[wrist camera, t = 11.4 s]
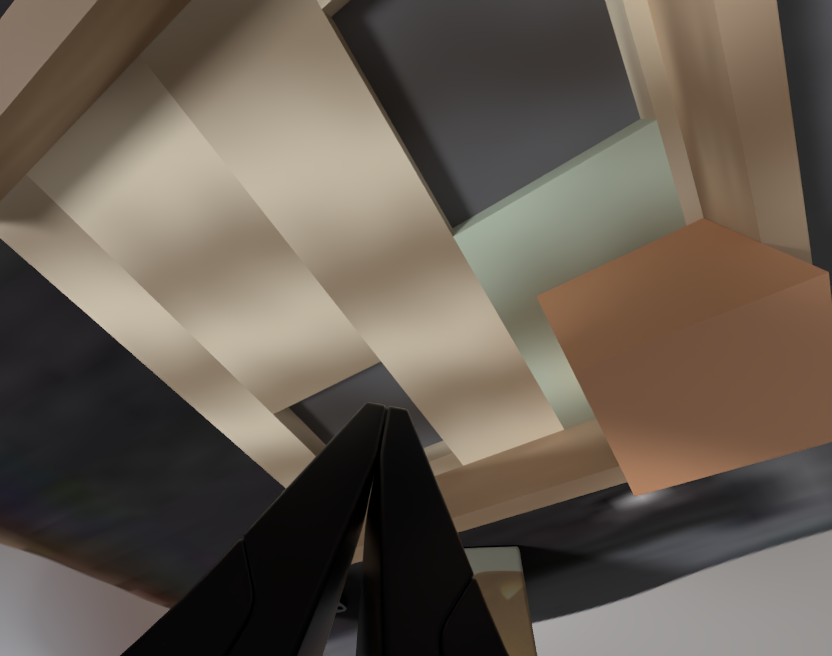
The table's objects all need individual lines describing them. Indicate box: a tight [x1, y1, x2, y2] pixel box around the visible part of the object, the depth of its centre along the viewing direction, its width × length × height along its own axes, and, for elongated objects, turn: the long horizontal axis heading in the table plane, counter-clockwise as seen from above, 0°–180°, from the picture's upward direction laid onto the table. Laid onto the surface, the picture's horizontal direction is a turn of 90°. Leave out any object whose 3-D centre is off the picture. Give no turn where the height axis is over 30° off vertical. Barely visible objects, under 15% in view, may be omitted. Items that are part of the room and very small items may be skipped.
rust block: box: [536, 218, 832, 496], centre depth 12 cm, size 6×6×4 cm
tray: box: [0, 0, 812, 564], centre depth 13 cm, size 21×22×4 cm
